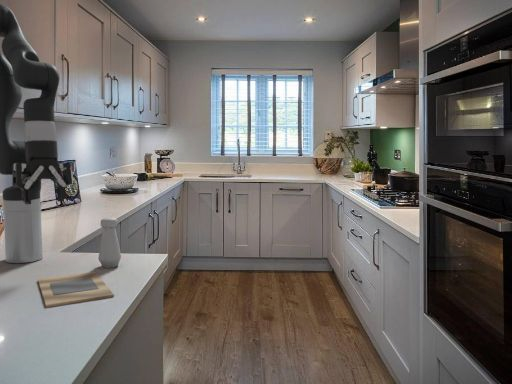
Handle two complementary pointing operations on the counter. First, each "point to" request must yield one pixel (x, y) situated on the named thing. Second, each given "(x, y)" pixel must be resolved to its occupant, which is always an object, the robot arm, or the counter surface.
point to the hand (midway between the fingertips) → (44, 202)
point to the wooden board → (73, 289)
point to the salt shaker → (109, 244)
